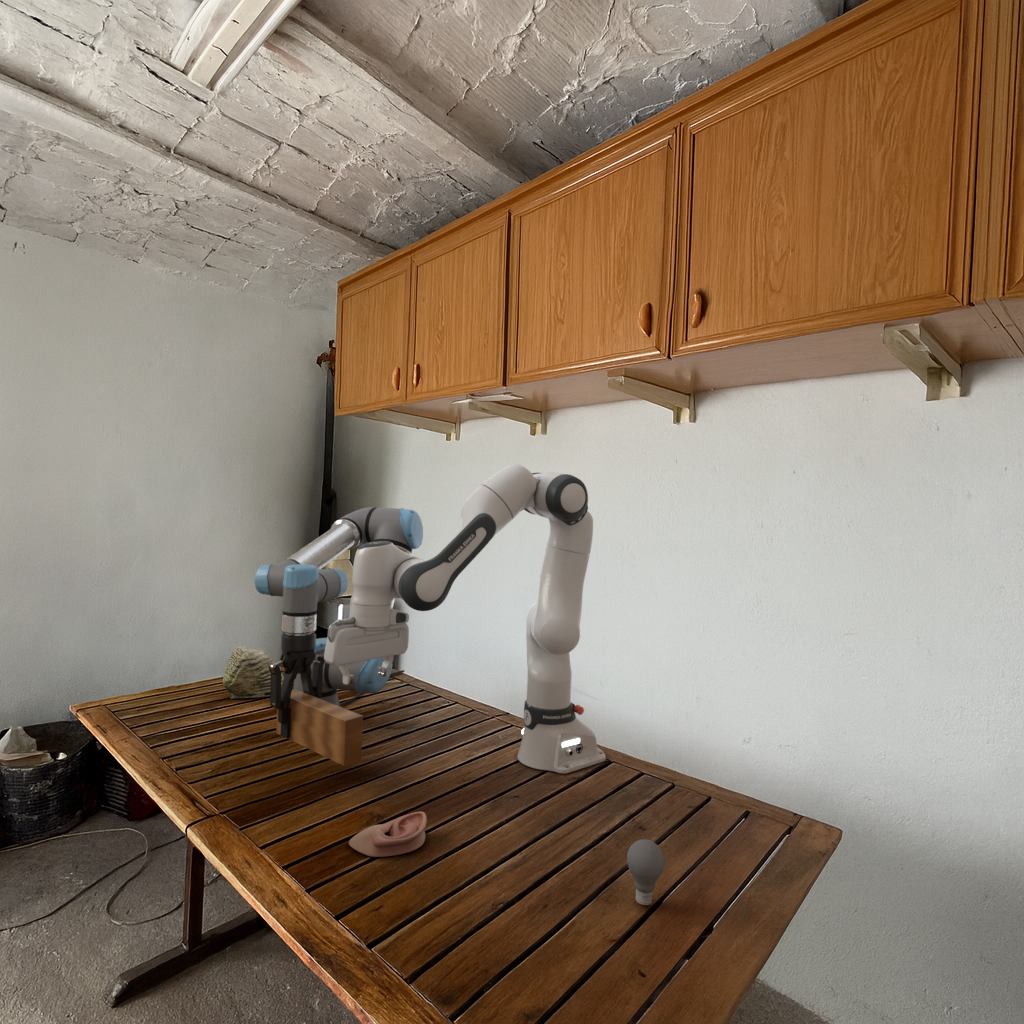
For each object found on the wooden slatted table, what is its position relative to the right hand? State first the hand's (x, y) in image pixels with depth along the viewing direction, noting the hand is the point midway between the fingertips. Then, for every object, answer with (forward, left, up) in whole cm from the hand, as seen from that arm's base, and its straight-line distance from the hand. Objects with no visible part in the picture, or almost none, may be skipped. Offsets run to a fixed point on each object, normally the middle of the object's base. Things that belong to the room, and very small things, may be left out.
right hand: (365, 679), depth 137 cm
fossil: (+15, -76, -24) cm, 81 cm away
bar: (+8, -8, -16) cm, 20 cm away
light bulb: (-32, +56, -24) cm, 69 cm away
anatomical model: (0, +22, -24) cm, 33 cm away
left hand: (+12, -15, -16) cm, 25 cm away
